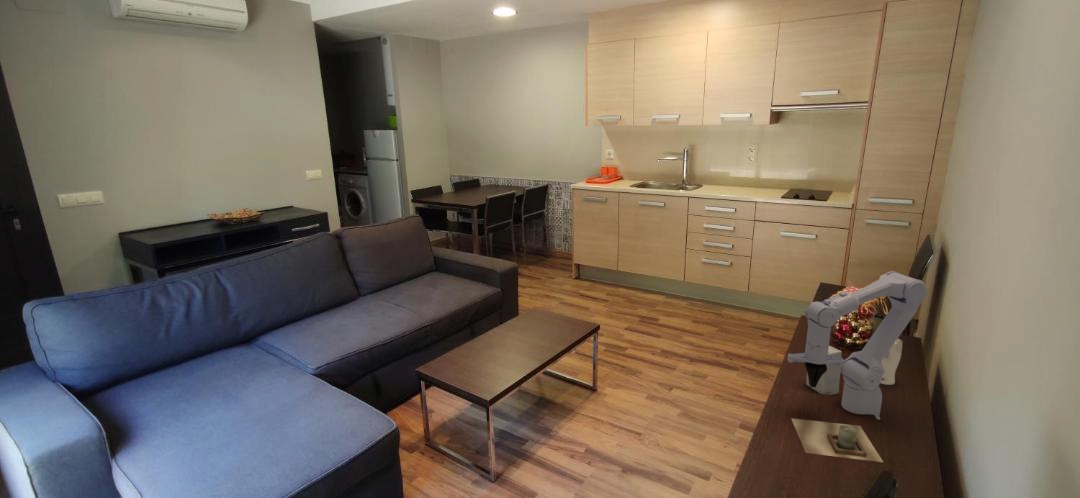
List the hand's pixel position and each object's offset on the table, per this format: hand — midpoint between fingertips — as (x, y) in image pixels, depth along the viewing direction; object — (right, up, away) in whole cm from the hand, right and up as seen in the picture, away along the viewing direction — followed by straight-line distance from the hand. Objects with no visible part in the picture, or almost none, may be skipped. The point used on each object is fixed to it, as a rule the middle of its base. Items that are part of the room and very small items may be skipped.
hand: (812, 385), depth 144 cm
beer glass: (+36, -4, +21) cm, 42 cm away
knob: (+1, -12, -14) cm, 19 cm away
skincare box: (+12, -6, +17) cm, 21 cm away
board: (0, -13, -10) cm, 17 cm away
